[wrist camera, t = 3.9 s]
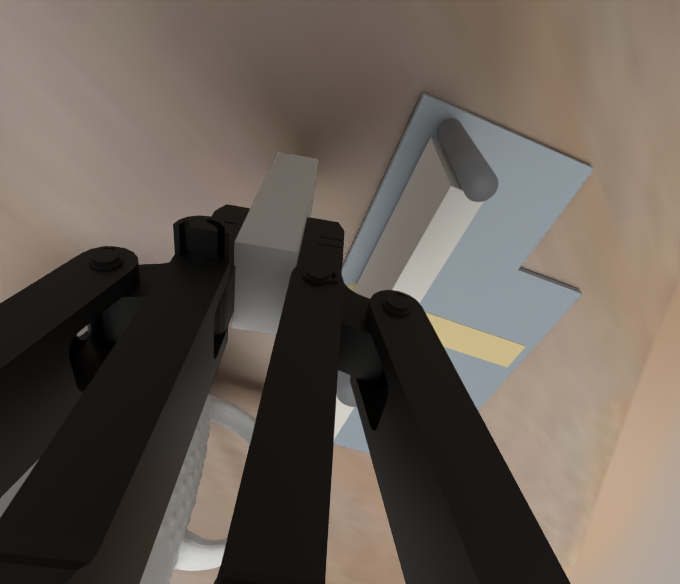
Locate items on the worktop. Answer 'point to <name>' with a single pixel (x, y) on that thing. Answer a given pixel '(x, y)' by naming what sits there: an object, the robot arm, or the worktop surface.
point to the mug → (182, 500)
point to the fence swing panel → (430, 214)
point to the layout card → (481, 252)
